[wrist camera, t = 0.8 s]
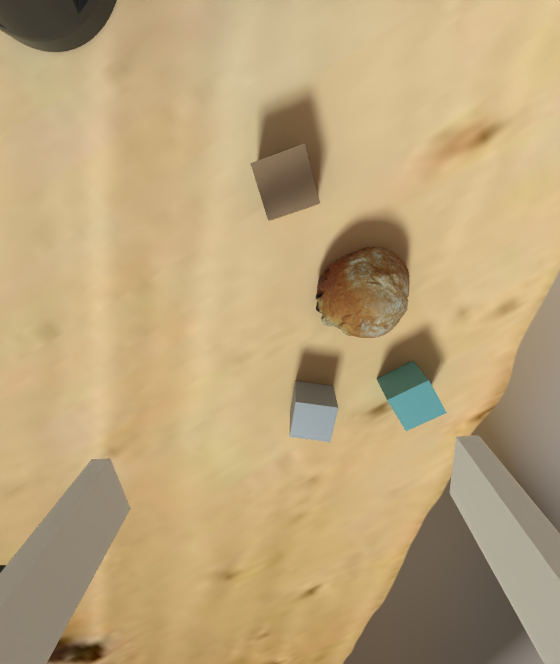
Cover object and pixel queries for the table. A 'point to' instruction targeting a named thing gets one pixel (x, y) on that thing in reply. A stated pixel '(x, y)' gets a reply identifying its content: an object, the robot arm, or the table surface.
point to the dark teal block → (411, 395)
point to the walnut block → (286, 182)
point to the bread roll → (364, 292)
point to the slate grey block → (313, 411)
